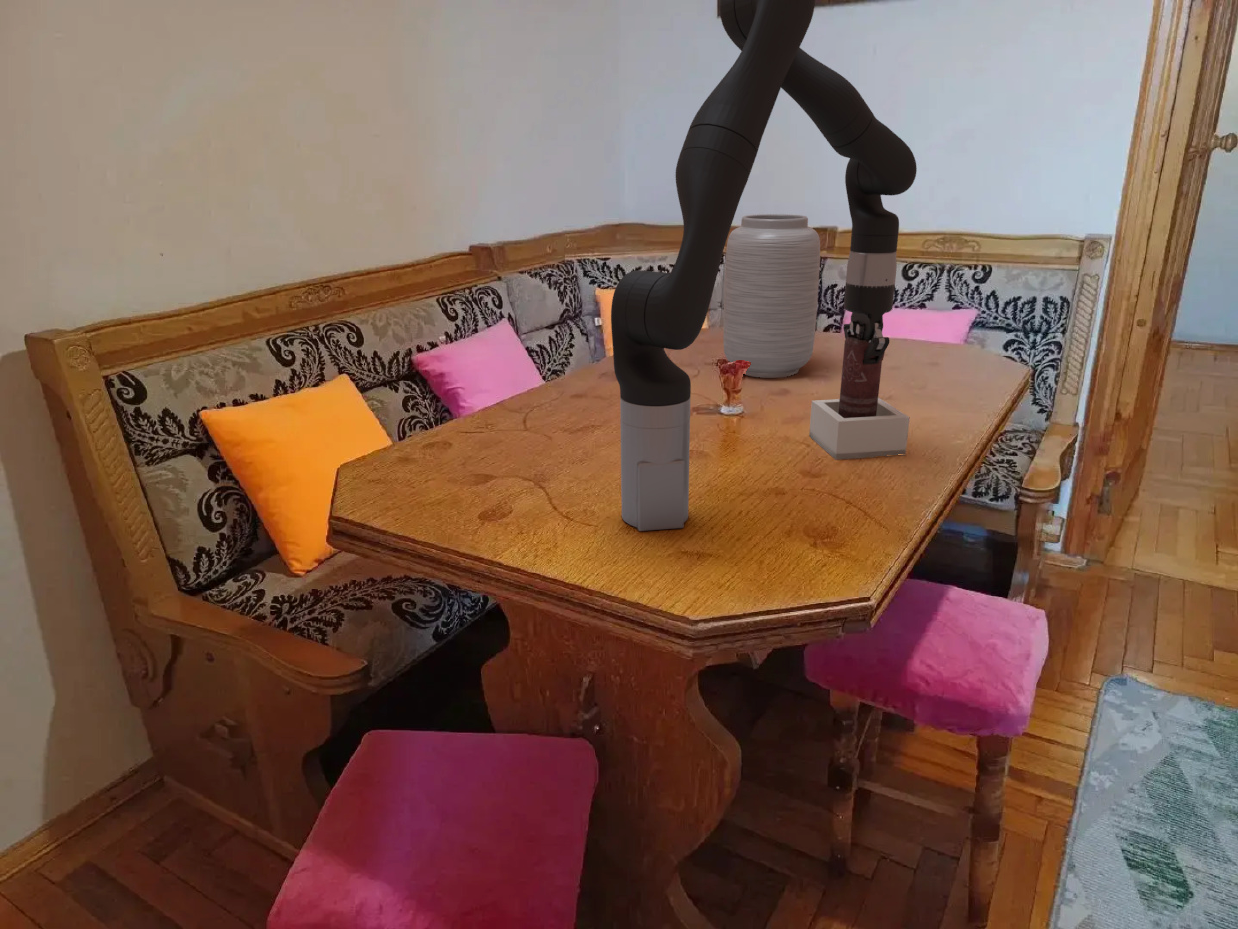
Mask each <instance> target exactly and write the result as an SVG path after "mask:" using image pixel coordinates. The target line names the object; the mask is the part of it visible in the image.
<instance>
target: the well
mask: <svg viewBox="0 0 1238 929" xmlns="http://www.w3.org/2000/svg"><path fill="white" fill-rule="evenodd" d="M839 401H840V398H837V399H835V398H834V399H820V400H819V399H817V400H811V407H810V422H809V436H808V437H809V438H811V439H812V440H813V441H814V442H815V443H816V444H817V445H818V446H820V448H822V449H823V451H825V452H826V453H827V454H829V456H831V457H832V458H833V459H834V460H836V461H837V460H838V461H839V460H850V459H851V460H852V459H866V458H867V457H870V458H877V457H876V456H885V457H888V456H887V455H898V454H905V455H906V454H907V443H908V436H909V428H910V427H909V426H910V421H911V420H910V416H908V415H906V414H905V413H903V412H902V411H901V410H899V409H897V408H896V407H894V406H893V405H892V404H890V403H888V402H886V401H884V400H883V399H881V398H880V397H879V396H878V404H877V413H876V416H874V417H856V418H843V417H842V416H840V415H839V414H838V412H839Z"/></svg>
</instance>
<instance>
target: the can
mask: <svg viewBox="0 0 1238 929" xmlns="http://www.w3.org/2000/svg"><path fill="white" fill-rule="evenodd" d="M856 339H857V338H852V337H851V334H849V335H848V336H847V338H846V339H845V340H844V344H843V345H844V348H843V358H842V369H841V379H840V381H841V382H840V393H839V399H840V401H839V412H838V414H839V415H840V416H842V417H843V418H856V417H874V416H876V413H877V404H878V397H879V394H880V393H879V392H880V384H881V383H880V382H881V374H882V366H883V361H884V357H885V353H886V351H885V352H884V354H883V356H882V357H881V359H880V361H879V363H878V364H865V365H863V362H862V360H864V353H865V351H866V349H867V347H868V346H869V344H870V343H869V342H868V341H866V340H856ZM870 358H876V356H871V357H870Z"/></svg>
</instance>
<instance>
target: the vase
mask: <svg viewBox="0 0 1238 929" xmlns="http://www.w3.org/2000/svg"><path fill="white" fill-rule="evenodd" d="M808 223H809V218H808V216H806V215H802V214H801V215H800V214H786V213H785V214H784V213H783V214H782V213H780V214H777V213H776V214H775V213H774V214H773V213H772V214H771V213H770V214H769V213H767V214H750V215H744V216H742V218H741V224H740V226H739V227H736V228H734V229H733V230H732V231H731V232H729V234H728V237H727V241H726V250H725V251H726V253H725V266H724V268H725V269H724V270H725V271H724V272H725V273H724V274H725V275H724V294H723V296H724V297H723V299H724V301H723V334H722V335H723V336H722V338H723V351H724V352H723V353H724V356H725V357H726V360H727V361H728V362H729V361H730V362H733V361H736V360H745V361H749V362H751V365H750V367H749V368H748V369H747V371H746V374H745V375H744V376H748V377H753V378H759V377H760V378H761V379H779V378H780V379H781V378H787V376H788V377H792V376H795V375H796V374H798V373H799V370H800V368H802V367H804V366H805V365H807V363H808V362H809V361H810V359H811V357H812V355H813V351H814V346H815V345H814V344H815V338H816V326H817V312H818V299H819V285H820V284H819V283H820V282H819V281H820V270H821V269H820V267H821V238H820V235H819V234H818V231H816V230H815V229H814V228H812V227H810V226H809V224H808ZM730 362H729V363H730ZM794 374H795V375H794ZM791 375H792V376H791Z"/></svg>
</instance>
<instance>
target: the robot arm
mask: <svg viewBox="0 0 1238 929" xmlns="http://www.w3.org/2000/svg"><path fill="white" fill-rule="evenodd" d="M815 7H816V0H719V16H720V20H721V23H722V24H721V25H722V26H723V29H724V31H725V33H726V35H727V36H728V37H729V39H730V40H731V42H732V43H733V44H734V46H735V47H737V48H738V50H740V51H741V52H740V53H739V55H738V57H737V58H736V60H735V62H734V63H733V65H732V66H731V67H730V68H729V70H728V71H727V72H726V74H725V75H724V77H723V78H722V79H721V80H720V82H719V83H717V85H716V86H715V87H714V89H713V90H712V91H711V93H710V94H709V95H708V96H707V98H706V99H705V100H704V102H703V103H702V105H701V106H700V107H699V109H698V111H697V112H696V113H695V116H694V117H693V120H692V121H691V123H690V126H689V127H688V130H687V134H686V136H685V140H684V141H683V145H682V148H681V151H680V152H679V156H678V159H677V163H676V168H675V186H676V192H677V197H678V202H679V205H680V206H679V207H680V211H681V216H682V221H683V231H682V233H683V235H682V240H681V243H680V248H679V250H678V254H677V256H676V260H675V263H674V265H673V267H672V270H671V271H670V272H661V271H654V270H653V271H652V270H641V269H639V270H632V271H630V272H627V273H626V274H625V275H623V276H622V277H621V278H620V280H619V282H618V283H617V284H616V287H615V289H614V292H613V296H612V299H611V309H610V327H611V340H612V341H611V343H612V353H613V355H612V357H613V369H614V374H615V378H616V380H617V382H618V386H619V395H620V396H619V397H620V398H619V399H620V402H619V403H620V404H619V406H620V408H619V409H620V410H619V411H620V487H621V488H620V489H621V490H620V491H621V517H622V520H623V522H624V523H626V524H628V525H630V526H632V527H634V528H636V529H637V530H638V531H639V532H645V531H657V530H668V529H670V530H671V529H683V528H684V527H685V526H684V525H685V524H684V523H686V521H687V520H688V519H689V500H690V499H689V497H690V495H689V494H690V491H689V490H690V486H689V485H690V484H689V483H690V442H691V440H690V437H691V436H690V435H691V427H690V426H691V398H692V397H691V396H692V392H691V391H692V390H691V389H692V387H691V384H692V383H691V378H690V376H689V375H688V373H687V372H685V370H684V369H682V368H680V366H678V365H677V364H675V363H674V362H673V361H672V360H671V358H670V357H669V356H668V355H667V353H666V351H665V349H666V350H672V351H676V350H678V351H682V350H684V349H687V348H689V346H691V345H692V344H693V343H694V342H695V341H696V340H697V338H698V337H699V335H700V332H701V330H702V329H703V326H704V324H705V321H706V318H707V316H708V312H709V308H710V304H711V300H712V296H713V293H714V289H715V285H716V282H717V277H718V272H719V269H720V265H721V259H722V257H723V252H724V250H725V246H726V244H727V241H728V238H729V235H730V230H731V227H732V225H733V221H734V218H735V215H736V212H737V209H738V206H739V204H740V201H741V198H742V195H743V194H744V190H745V188H746V186H747V183H748V180H749V178H750V174H751V172H752V169H753V167H754V164H755V160H756V158H757V154H758V153H759V152H758V151H759V148H760V145H761V141H762V139H763V135H764V133H765V130H766V128H767V125H768V123H769V121H770V120H769V119H770V118H771V115H772V112H773V109H774V107H775V104H776V101H777V99H778V95H779V94H780V91H781V89H782V90H783V91H784V92H785V93H786V94H787V95H788V96H790V98H791V99H792V100H794V101H795V102H796V103H797V105H798V106H800V108H801V109H802V110H803V111H804V113H806V115H807V116H808V117H809V118H810V119H811V121H812V122H813V123H814V124H815V126H816V128H817V129H818V130H819V131H820V132H819V133H821V135H822V136H823V138H825V140H826V141H827V143H828V144H829V146H831V148H832V149H833V150H834V152H835V153H837V154H838V155H840V156H841V157H844V158H847V159H849V160H848V162H847V164H846V168H845V177H844V184H845V189H846V197H847V201H848V202H847V203H848V209H849V215H850V219H851V220H850V221H851V235H850V236H851V238H850V246H849V247H850V248H849V255H848V260H847V266H846V274H845V275H846V276H845V288H844V298H843V300H844V302H843V308H844V309H845V311H846V312H849V313H851V315H850V322H849V323H844V324H843V326H842V327H843V334H844V338H845V340H846V338H847V336H848V335H849V334H851V337H852V338H857V339H856V340H866V341H868V342H869V343H870V344H869V346H868V347H867V349H866V351H865V353H864V360H862V362H863V365H865V364H878V363H879V361H880V359H881V357H882V356H883V354H884V355H885V353H886V350H887V348H888V346H889V345H890V338H889V337H888V336H884V335H883V329H884V321H883V320H884V319H883V318H884V317H883V316H884V315H885V314H886V313H889V312H891V311H892V310H893V307H894V306H893V305H894V297H895V286H896V278H897V277H896V275H897V252H898V241H899V231H900V230H899V229H900V220H899V216H898V215H897V214H896V213H894V212H892V211H889V210H887V209H886V208H885V207H884V204H883V200H882V196H898V195H901V194H903V193H905V192H906V191H908V190H909V189H910V188H911V187H912V185H913V184H914V182H915V179H916V177H917V161H916V158H915V156H914V152H913V151H912V149H911V148H910V146H908V145H907V143H906V142H905V141H904V140H903V139H902V138H901V137H900V136H899V135H897V134H896V133H895V132H894V131H893V130H892V129H890V128H889V127H888V126H887V125H885V124H884V123H882V122H881V121H880V120H879V119H877V117H876V116H875V114H874V113H873V111H872V110H871V109H870V107H869V105H868V104H867V103H866V101H865V99H864V98H863V97H862V95H861V93H860V92H859V91H858V89H857V88H856V87H855V86H854V85H853V83H851V82H850V81H849V80H848V79H847V78H846V77H845V76H842V74H840V73H838V72H837V71H835V70H833V69H832V68H831V67H829V66H827V65H826V64H824V63H822V62H820V61H819V60H817V59H816V58H815V57H813V56H812V55H810V54H809V53H807V52H806V51H805V50H803V49H802V48H801V46H802V43H803V42H804V41H803V40H804V38H805V36H806V34H807V32H808V30H809V27H810V24H811V22H812V20H813V15H814V12H815ZM884 352H885V353H884ZM871 356H876V358H870V357H871Z"/></svg>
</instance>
